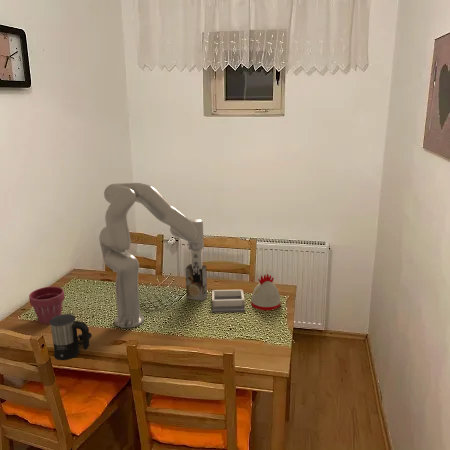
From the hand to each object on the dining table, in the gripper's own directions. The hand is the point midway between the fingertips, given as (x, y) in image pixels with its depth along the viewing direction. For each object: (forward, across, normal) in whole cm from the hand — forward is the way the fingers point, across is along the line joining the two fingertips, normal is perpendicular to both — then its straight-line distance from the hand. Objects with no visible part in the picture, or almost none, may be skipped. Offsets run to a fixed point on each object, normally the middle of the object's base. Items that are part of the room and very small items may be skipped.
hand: (197, 278), depth 218 cm
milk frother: (+9, -46, +48) cm, 67 cm away
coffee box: (+10, 0, 0) cm, 10 cm away
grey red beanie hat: (+11, -9, -33) cm, 36 cm away
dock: (+10, -7, -15) cm, 19 cm away
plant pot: (+9, -20, +65) cm, 69 cm away
